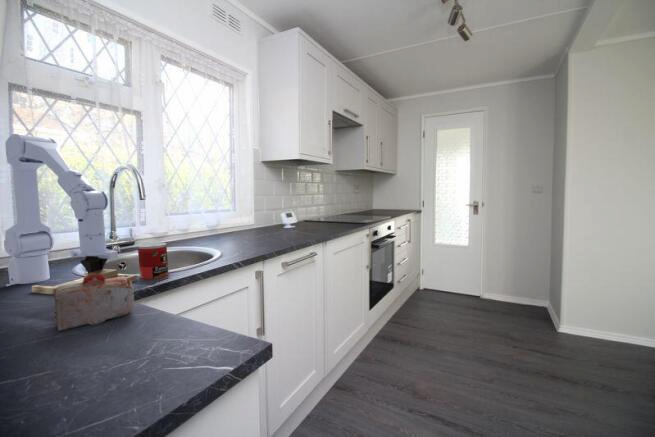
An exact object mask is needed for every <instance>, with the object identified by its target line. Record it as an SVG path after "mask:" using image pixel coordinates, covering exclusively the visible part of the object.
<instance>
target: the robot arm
mask: <svg viewBox="0 0 655 437" xmlns="http://www.w3.org/2000/svg"><path fill="white" fill-rule="evenodd" d="M4 143H5V144H4V146H5V157H6V163H7V164H9V165H11V169H12V179H13V180H12V181H13V191H14V192H13V193H14V202H15V211H16V212H15V213H16V214H15V215H16V221H17V223H15V224H13V225H12V226H11V227H9V228H8V229H6V230H5V236H4V237H5V238H4V241H3V248H4V251H5V252H6V254H8V255H9V256H11V258H10V259H9V261H8V263H7V271H8V279H9V283H8V284H6V285H5V286H6V287H8V286H13V285H17V284H19V285H26V284H34V283H40V282H44V281H47V280H50V277H51V276H50V266H49V259H48V258H49V257H48V254H50V253H51V250H52V249H53V248H54V245H55V240H54V236H53V234H52V231H51V227H50V226H49V225H46V224H44V223H43V222H42V220H41V218H42V217H41V208H40V197H39V196H40V195H39V186H38V185H39V184H38V182H39V181H38V173H37V172H38V169H39V168H40V167H42V166H46V167H48V168H49V169H50V170H51V171H52V172H53V173H54V174H55V175H56V176H57V177H58V178H57V184H58V185H59V186H60V188H61V189H62V190H63V192H65V193H66V195H68V196H67V197H69V198H70V202H69V203H70V207H71V209H72V211H73V213H74V217H75V219H76V220H77V225H78V226H77V227H78V238H79V248H75V249H70V258H77V257H79V258H84V259H82V260H80V264H81V266H83V267H84V269H85V271H86V272H88V276H89V273H91V272H95V271H99V270H102V269H104V267H105V265H106V263H107V261H108V260H110V261H111V260H116V259H118V258H119V252H118V250H112V249H109V248H107V242H106V230H105V228H106V226H105V215H104V211H105V210H106V209H107V208H108V204H109V200H108V197H107V194H106V193H105V191H103V190H102V189H97V188H95V187H93V186H92V185H91V183H90V182H89V181H88V180H87V179H86V178H85V177H84V176H83V174H82V172H80V171H77V170H72V168H71V167H70V166H69V165H68V163H67V161H66V160H65V159H64V157H63V156H62V155H61V146H60V144H58V142H57V141H56V140H55V139H54V138H52V137H41V136H40V137H39V136H33V135H32V136H31V135H25V134H24V135H23V134H19V133H12V134H10V135H9V137H8V138H7V139H6V141H5V142H4Z"/></svg>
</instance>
